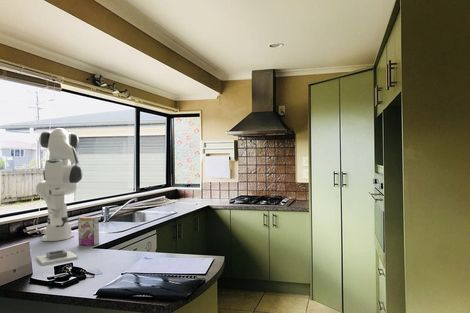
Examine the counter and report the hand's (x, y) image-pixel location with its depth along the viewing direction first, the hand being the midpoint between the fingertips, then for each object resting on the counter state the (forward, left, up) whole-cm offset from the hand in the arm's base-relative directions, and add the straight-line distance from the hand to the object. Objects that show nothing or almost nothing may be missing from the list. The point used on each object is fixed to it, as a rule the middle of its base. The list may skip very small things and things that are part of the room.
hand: (55, 217), depth 182 cm
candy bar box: (-21, +22, -22) cm, 37 cm away
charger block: (0, 0, -4) cm, 4 cm away
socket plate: (0, 0, -21) cm, 21 cm away
